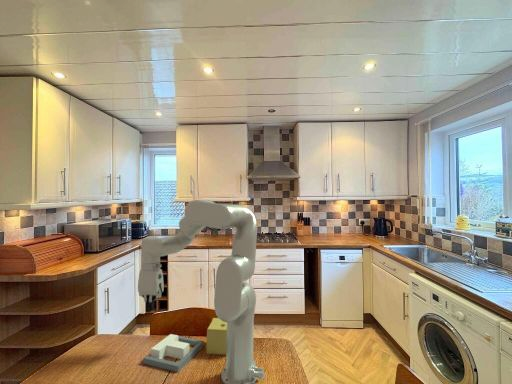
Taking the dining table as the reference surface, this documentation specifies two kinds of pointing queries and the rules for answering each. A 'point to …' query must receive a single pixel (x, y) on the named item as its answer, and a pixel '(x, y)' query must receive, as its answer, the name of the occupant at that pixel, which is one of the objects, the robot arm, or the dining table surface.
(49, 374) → the dining table surface
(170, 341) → the t block
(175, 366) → the frame
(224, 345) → the cheese
